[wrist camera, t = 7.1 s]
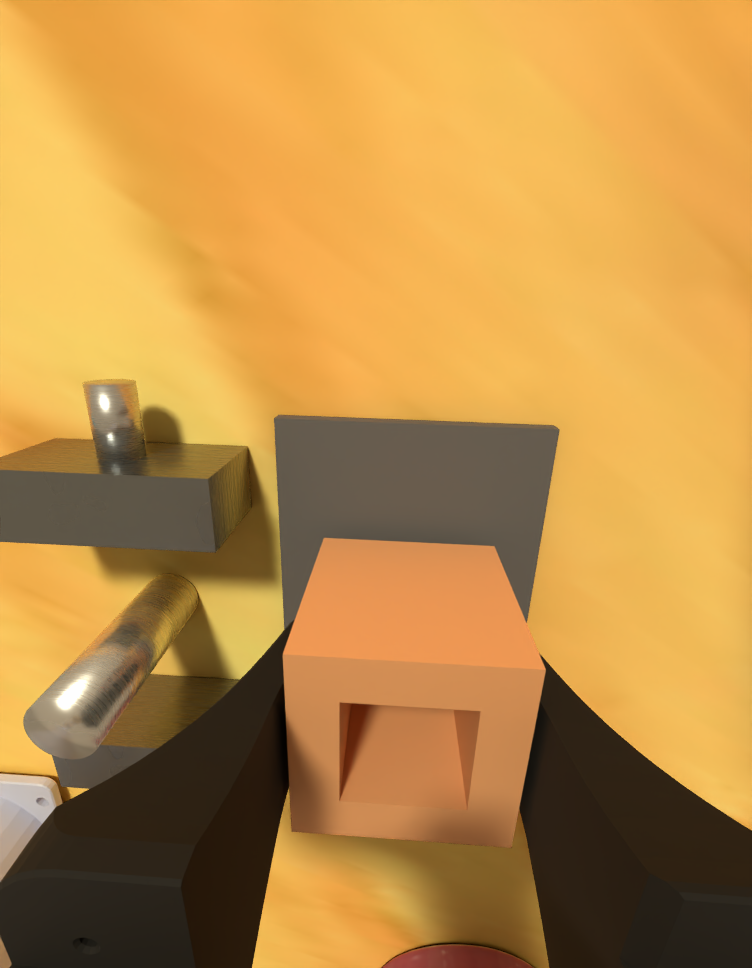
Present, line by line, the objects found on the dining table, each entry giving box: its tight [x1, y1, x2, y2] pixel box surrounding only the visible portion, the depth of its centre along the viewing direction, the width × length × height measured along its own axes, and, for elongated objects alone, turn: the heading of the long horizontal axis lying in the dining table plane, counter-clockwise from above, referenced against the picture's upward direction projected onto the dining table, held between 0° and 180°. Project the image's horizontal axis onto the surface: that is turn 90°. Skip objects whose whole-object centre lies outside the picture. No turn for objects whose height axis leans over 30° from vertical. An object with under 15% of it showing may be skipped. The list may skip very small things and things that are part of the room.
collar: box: [283, 538, 546, 848], centre depth 12 cm, size 5×5×5 cm
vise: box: [0, 379, 252, 789], centre depth 13 cm, size 13×6×6 cm, turn 178°
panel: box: [274, 415, 559, 629], centre depth 15 cm, size 12×8×1 cm, turn 178°
